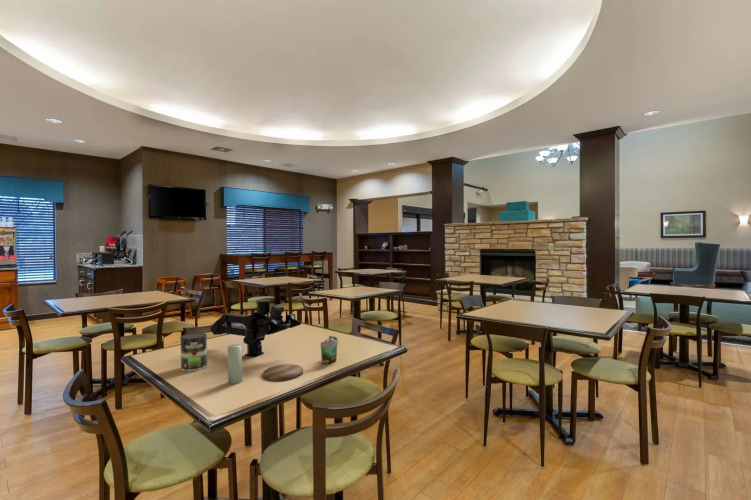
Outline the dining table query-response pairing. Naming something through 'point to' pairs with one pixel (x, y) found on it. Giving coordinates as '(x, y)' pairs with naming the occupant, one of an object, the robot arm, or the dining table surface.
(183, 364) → the coffee can
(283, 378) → the disc
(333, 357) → the food container
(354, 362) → the dining table surface
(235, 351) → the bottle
